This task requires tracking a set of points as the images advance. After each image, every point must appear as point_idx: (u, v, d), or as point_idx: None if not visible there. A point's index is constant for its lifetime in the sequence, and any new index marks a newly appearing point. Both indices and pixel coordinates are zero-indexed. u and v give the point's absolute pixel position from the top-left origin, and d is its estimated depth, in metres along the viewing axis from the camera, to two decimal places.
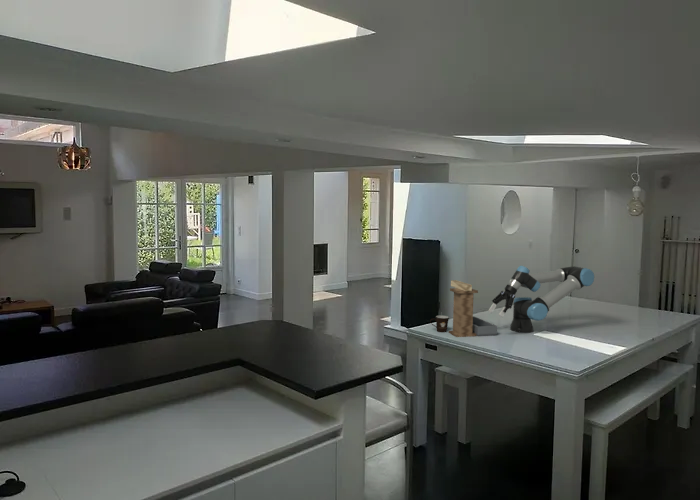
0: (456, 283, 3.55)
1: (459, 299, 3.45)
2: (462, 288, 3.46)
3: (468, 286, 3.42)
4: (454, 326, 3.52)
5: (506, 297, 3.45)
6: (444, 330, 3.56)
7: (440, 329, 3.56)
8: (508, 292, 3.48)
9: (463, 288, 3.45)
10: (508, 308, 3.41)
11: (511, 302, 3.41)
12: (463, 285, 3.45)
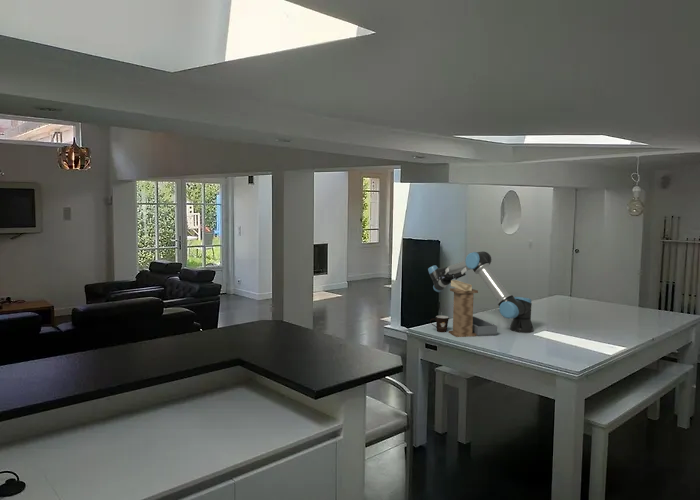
0: (456, 283, 3.55)
1: (459, 299, 3.45)
2: (462, 288, 3.46)
3: (468, 286, 3.42)
4: (454, 326, 3.52)
5: (445, 278, 3.85)
6: (444, 330, 3.56)
7: (440, 329, 3.56)
8: None
9: (463, 288, 3.45)
10: (441, 272, 3.80)
11: (439, 275, 3.83)
12: (463, 285, 3.45)
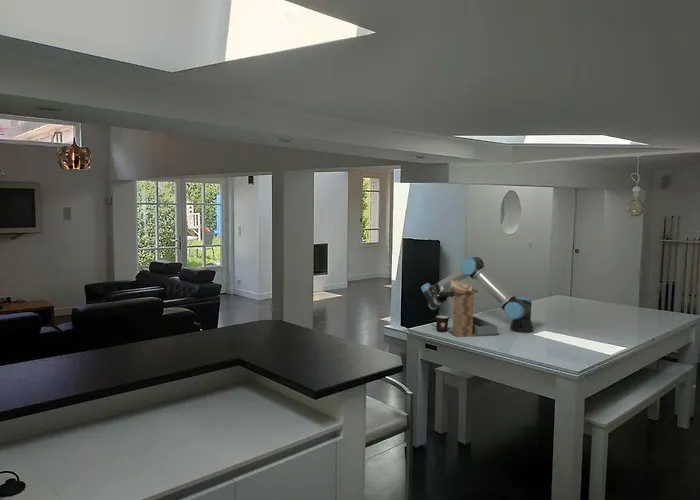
0: (456, 283, 3.55)
1: (459, 299, 3.45)
2: (462, 288, 3.46)
3: (468, 286, 3.42)
4: (454, 326, 3.52)
5: (440, 296, 3.74)
6: (444, 330, 3.56)
7: (440, 329, 3.56)
8: None
9: (463, 288, 3.45)
10: (436, 290, 3.69)
11: (434, 293, 3.72)
12: (463, 285, 3.45)
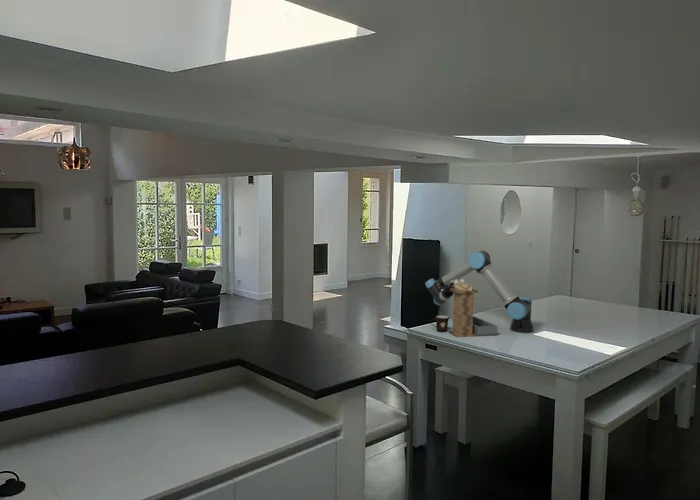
0: None
1: (459, 299, 3.45)
2: (462, 288, 3.46)
3: (468, 286, 3.42)
4: (454, 326, 3.52)
5: (449, 291, 3.65)
6: (444, 330, 3.56)
7: (440, 329, 3.56)
8: (446, 293, 3.70)
9: (463, 288, 3.45)
10: (450, 284, 3.59)
11: (445, 287, 3.62)
12: (463, 285, 3.45)
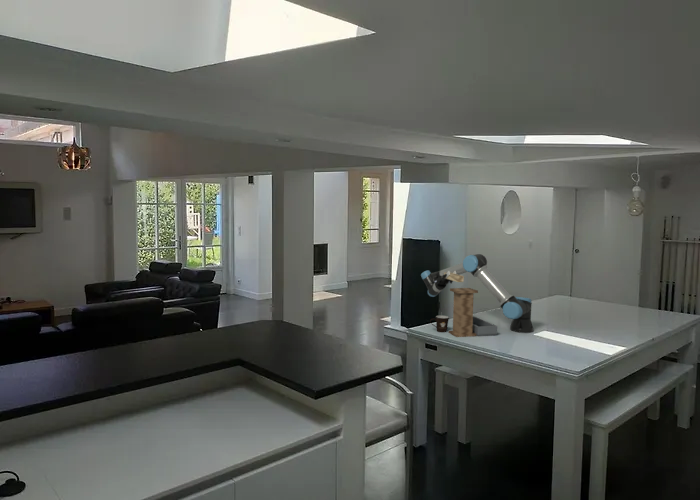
0: (449, 275, 3.68)
1: (459, 299, 3.45)
2: (454, 279, 3.59)
3: (460, 277, 3.55)
4: (454, 326, 3.52)
5: (442, 282, 3.78)
6: (444, 330, 3.56)
7: (440, 329, 3.56)
8: (439, 284, 3.83)
9: (455, 279, 3.58)
10: (442, 275, 3.72)
11: (438, 278, 3.75)
12: (455, 276, 3.58)
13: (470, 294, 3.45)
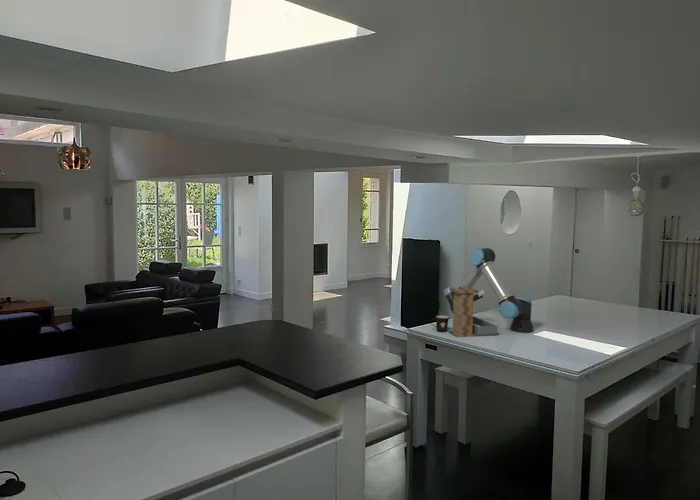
0: None
1: (459, 299, 3.45)
2: None
3: None
4: (454, 326, 3.52)
5: None
6: (444, 330, 3.56)
7: (440, 329, 3.56)
8: None
9: None
10: None
11: None
12: None
13: (470, 294, 3.45)
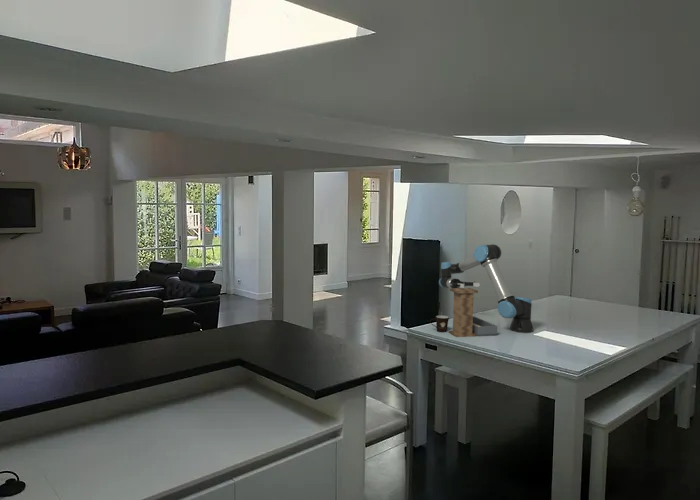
0: None
1: (459, 299, 3.45)
2: None
3: None
4: (454, 326, 3.52)
5: None
6: (444, 330, 3.56)
7: (440, 329, 3.56)
8: (456, 285, 3.91)
9: None
10: (455, 284, 3.79)
11: (452, 284, 3.83)
12: None
13: (470, 294, 3.45)
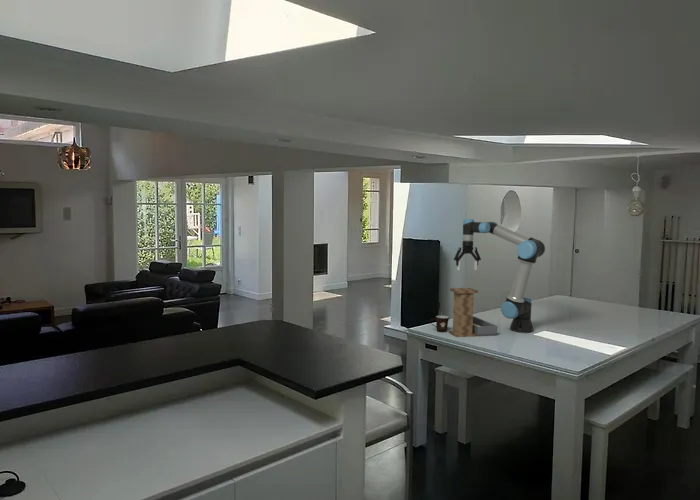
0: None
1: (459, 299, 3.45)
2: None
3: None
4: (454, 326, 3.52)
5: (462, 252, 3.82)
6: (444, 330, 3.56)
7: (440, 329, 3.56)
8: None
9: None
10: (456, 261, 3.79)
11: (456, 254, 3.79)
12: None
13: (470, 294, 3.45)
